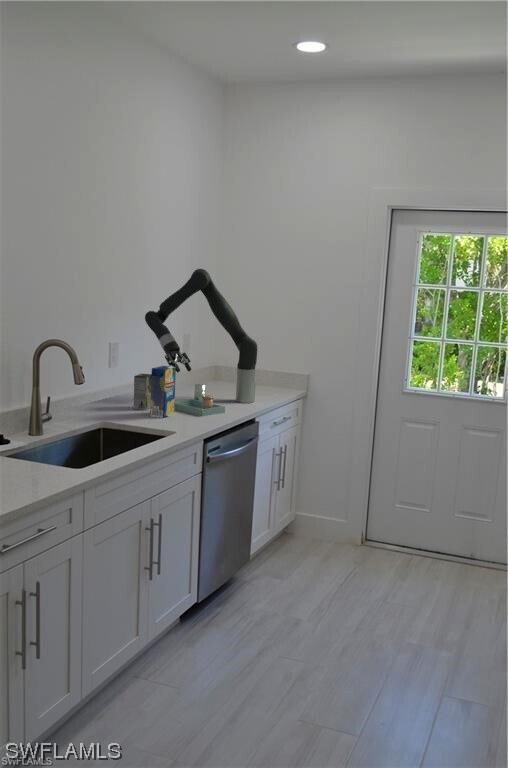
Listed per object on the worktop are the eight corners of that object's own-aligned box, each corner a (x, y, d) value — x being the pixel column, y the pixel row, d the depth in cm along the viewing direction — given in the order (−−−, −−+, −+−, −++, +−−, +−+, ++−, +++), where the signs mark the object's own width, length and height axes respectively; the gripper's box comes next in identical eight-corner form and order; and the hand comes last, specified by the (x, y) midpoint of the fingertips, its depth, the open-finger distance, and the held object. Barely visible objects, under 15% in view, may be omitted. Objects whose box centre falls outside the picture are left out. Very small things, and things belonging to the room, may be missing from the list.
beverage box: (174, 414, 346) (175, 367, 343) (163, 418, 336) (165, 369, 333) (160, 412, 348) (162, 365, 345) (149, 416, 338) (151, 368, 335)
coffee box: (139, 406, 360) (140, 373, 358) (152, 407, 359) (153, 374, 357) (132, 409, 352) (134, 375, 349) (145, 410, 350) (147, 376, 348)
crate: (192, 406, 366) (192, 399, 366) (224, 414, 352) (225, 406, 352) (169, 409, 355) (169, 402, 354) (202, 418, 341) (202, 409, 340)
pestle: (206, 411, 353) (207, 394, 352) (215, 413, 350) (215, 396, 348) (198, 412, 349) (199, 396, 348) (207, 414, 346) (207, 397, 344)
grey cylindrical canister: (199, 405, 371) (200, 383, 369) (206, 407, 368) (208, 385, 366) (191, 406, 367) (192, 384, 365) (199, 408, 364) (200, 385, 362)
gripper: (164, 340, 367) (179, 367, 363) (182, 340, 379) (198, 365, 375) (155, 349, 371) (170, 376, 367) (174, 348, 383) (189, 374, 378)
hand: (184, 371), depth 371 cm, fingers open, 8 cm apart
